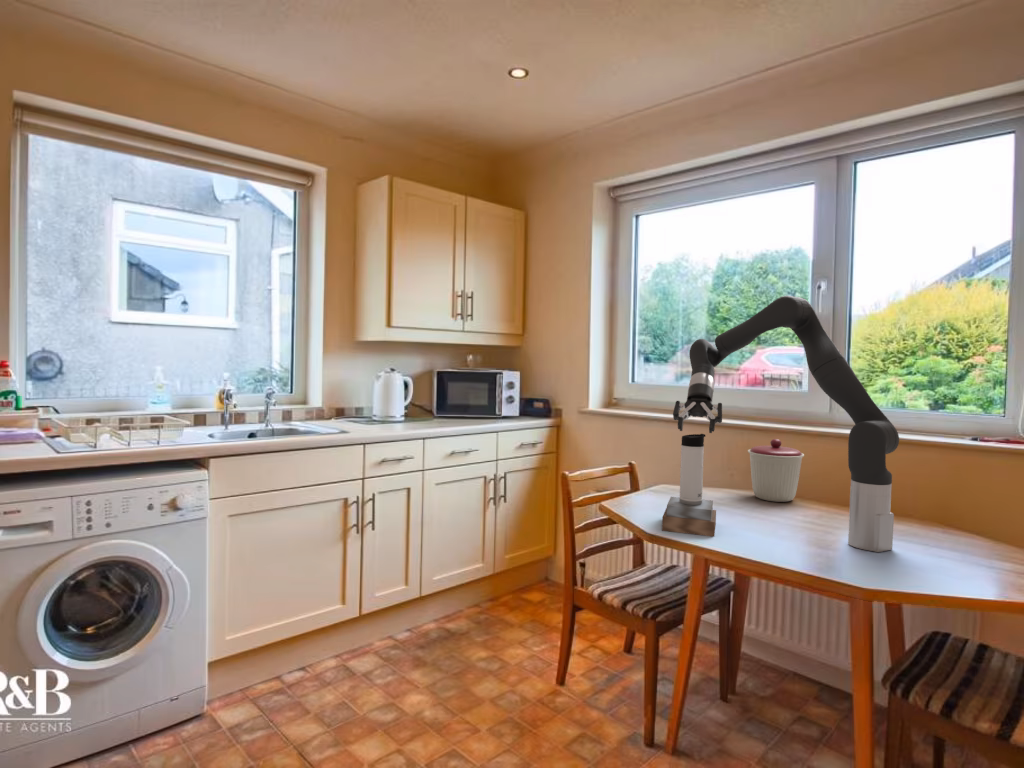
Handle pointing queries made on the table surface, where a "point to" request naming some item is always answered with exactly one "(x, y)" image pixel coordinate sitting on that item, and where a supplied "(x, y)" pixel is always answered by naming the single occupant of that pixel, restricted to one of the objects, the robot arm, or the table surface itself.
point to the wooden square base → (689, 517)
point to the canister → (775, 471)
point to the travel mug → (691, 469)
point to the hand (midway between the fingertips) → (695, 430)
